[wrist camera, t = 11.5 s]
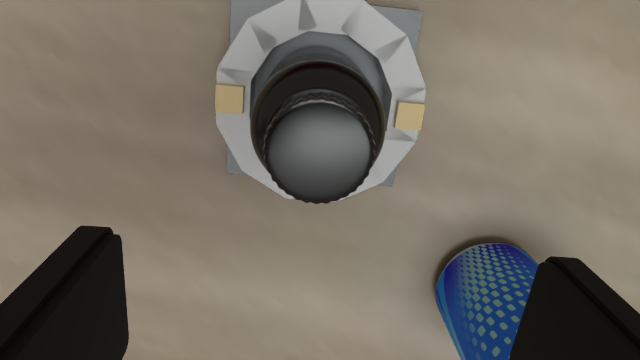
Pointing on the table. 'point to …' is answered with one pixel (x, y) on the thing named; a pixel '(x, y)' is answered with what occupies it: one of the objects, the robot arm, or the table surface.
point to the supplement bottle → (317, 125)
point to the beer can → (485, 298)
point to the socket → (332, 32)
